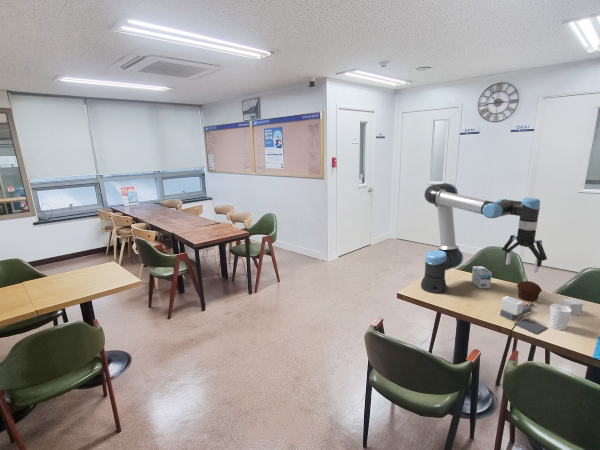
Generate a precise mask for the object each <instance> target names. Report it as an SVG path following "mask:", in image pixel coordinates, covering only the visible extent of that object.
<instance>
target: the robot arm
mask: <svg viewBox="0 0 600 450" xmlns="http://www.w3.org/2000/svg"><path fill="white" fill-rule="evenodd" d="M458 193H459V192H458V189H457V187H456V186H455V185H454V184H452V183H448V182H447V183H444V182H443V183H437V184H432V185H429V186H427V188H426V189H425V191H424V195H423V196H424V198H425V201H426V202H427V203H429V204H432V205H434V206H435V208H437V216H438V217H437V218H438V219H437V220H438V228H439V238H440V239H439V240H440V246H438V250H437V249H436V250H430V251H428V252H427V253H426V255H425V260H424V261H425V263H424V264H425V265H424V276H423V278H422V280H421V283H420V288H421V289H422V290H423V291H425V292H428V293H432V294H443V293H446V292H447V289H448V285H447V282H446V271H448V270H450V269H454V268H457V267H459V266H460V265H461V264H463V261H464V254H463V252H461V250H460V248H459V246H458V245H457V244H456V234H455V224H454V223H455V222H454V211H453V208H455V209H458V210H463V211H467V212H470V213H474V214H478V215H483V216H484V217H485V218H486V219H497V218H500V217H504V216H508V215H510V216H516V217H519V221H518V226H517V227H518V229H517V232H516V233H517V236H516V234H511V235H509V236H510V237H509V239H508V241H507V242H506V243H505V244H504V246H503V247H502V249H501V250H502V251H504V252H505V254H504V258H506V260H505V265H507V266H508V265H510V264H511V258H512V252H511V251H512V250H514V249H515V248H517V247H518V246H520V247H524V248H529V250H530V251H531V252H532V254H533V255H534V257H535V258H536V259H535V262H534V268H533V273H538V272H539V268H540V267H541V266H542V263H543V262H542V261H544V262H545V261H546V260H548V257H547V255H546V252H545V249H544V247H543V241H542V240H541V239H540V240H536V234H537V227H538V222H539V221H538V220H539V214H540V209H541V201H540V199H539V198H535V197H525V198H522V200H521V201H519V200H512V199H511V200H510V199H500V198H499V199H498V200H496V201H490V200H486V199H482V198H477V197H473V196H468V195H467V196H466V195H462V194H458ZM514 240H516V242H515V243H514V244H512V243H513V242H514ZM510 245H511V246H510Z"/></svg>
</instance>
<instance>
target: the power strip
mask: <svg viewBox="0 0 600 450" xmlns="http://www.w3.org/2000/svg"><path fill="white" fill-rule="evenodd" d="M523 302H524V303H523V310H522V313H520V314H518V315H515V314H512V313H510V312H507V311H505V310H503V309H500V313H499V316H501V317H503V318H505V319H507V320H510V321H514V320H516V319H518V318H520V317H522V316H524V314H525V315H526V313H527V314H529V313H531V312H532V310H533V307H534V306H535V304H534V303H531V304H528V303H527V302H526V301H523ZM528 312H529V313H528Z"/></svg>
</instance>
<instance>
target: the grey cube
mask: <svg viewBox="0 0 600 450" xmlns="http://www.w3.org/2000/svg"><path fill="white" fill-rule="evenodd" d="M560 305H564V306H566V307H569V308H570V309H571V310H572V311H571V315H573V316H574V315H575V316H577V315H582V311H583V307H584V304H583V303H582V302H580V301H578V300H577V299H574V298H562V299H561V304H560ZM571 315H570V316H571Z"/></svg>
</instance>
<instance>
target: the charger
mask: <svg viewBox="0 0 600 450" xmlns="http://www.w3.org/2000/svg"><path fill="white" fill-rule="evenodd" d="M524 302H525V301H523V300H521V299H520V300H519V299H518V298H515V297H511V296H509V295H505V296H503V297H502V298H501V302H500V308H499V309H500V310H502V309H503V310H505V311H507V312H510V313H512V314H515V315H518V314H520V313H522V310H523V303H524Z"/></svg>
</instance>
